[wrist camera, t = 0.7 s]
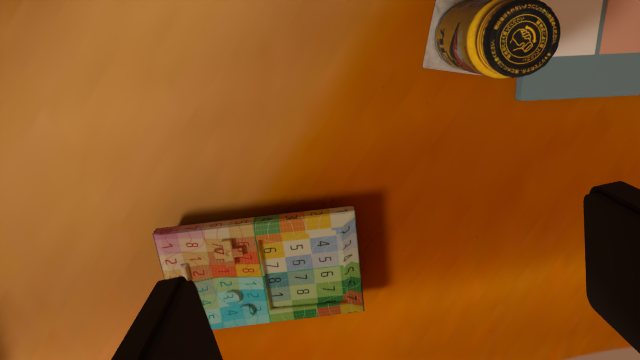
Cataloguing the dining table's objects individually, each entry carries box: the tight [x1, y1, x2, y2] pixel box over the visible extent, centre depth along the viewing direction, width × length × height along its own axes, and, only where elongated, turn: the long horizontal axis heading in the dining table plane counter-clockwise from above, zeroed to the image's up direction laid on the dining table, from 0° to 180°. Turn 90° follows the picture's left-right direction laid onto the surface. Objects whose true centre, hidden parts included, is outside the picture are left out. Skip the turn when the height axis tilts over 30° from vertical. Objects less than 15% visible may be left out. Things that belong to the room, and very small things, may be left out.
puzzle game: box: [153, 206, 364, 330], centre depth 46 cm, size 12×5×20 cm
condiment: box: [423, 0, 561, 79], centre depth 36 cm, size 7×8×12 cm
